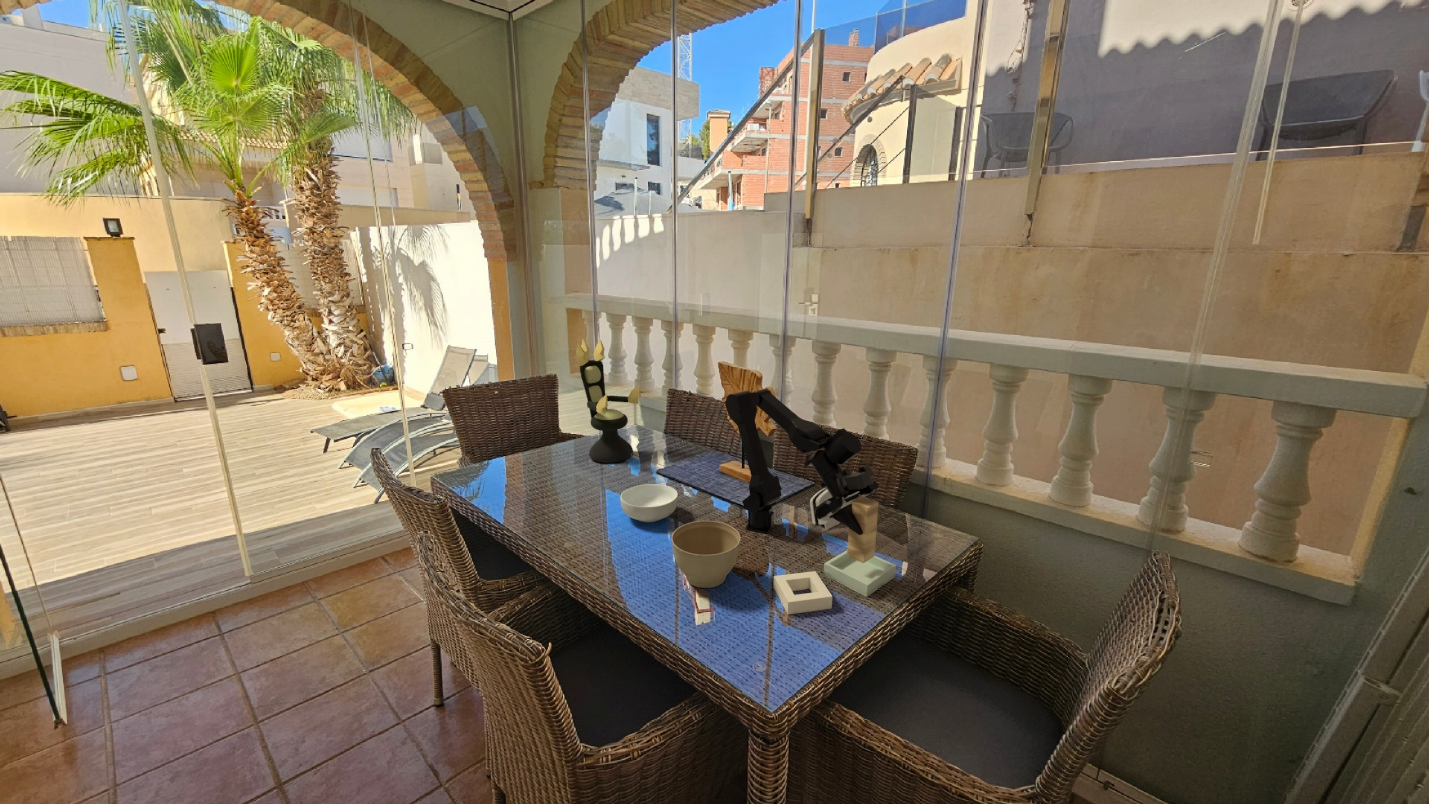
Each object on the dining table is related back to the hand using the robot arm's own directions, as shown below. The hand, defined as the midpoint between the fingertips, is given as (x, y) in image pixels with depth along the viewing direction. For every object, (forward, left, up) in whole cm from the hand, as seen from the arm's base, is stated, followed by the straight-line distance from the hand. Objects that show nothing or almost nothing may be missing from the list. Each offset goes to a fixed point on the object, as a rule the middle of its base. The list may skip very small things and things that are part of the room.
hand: (867, 531), depth 126 cm
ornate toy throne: (-105, +44, -13) cm, 115 cm away
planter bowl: (-34, -15, -13) cm, 40 cm away
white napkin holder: (-14, +29, -13) cm, 34 cm away
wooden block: (-1, +1, -7) cm, 7 cm away
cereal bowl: (-63, +7, -13) cm, 65 cm away
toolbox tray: (-1, +1, -12) cm, 12 cm away
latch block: (-11, -14, -12) cm, 22 cm away
